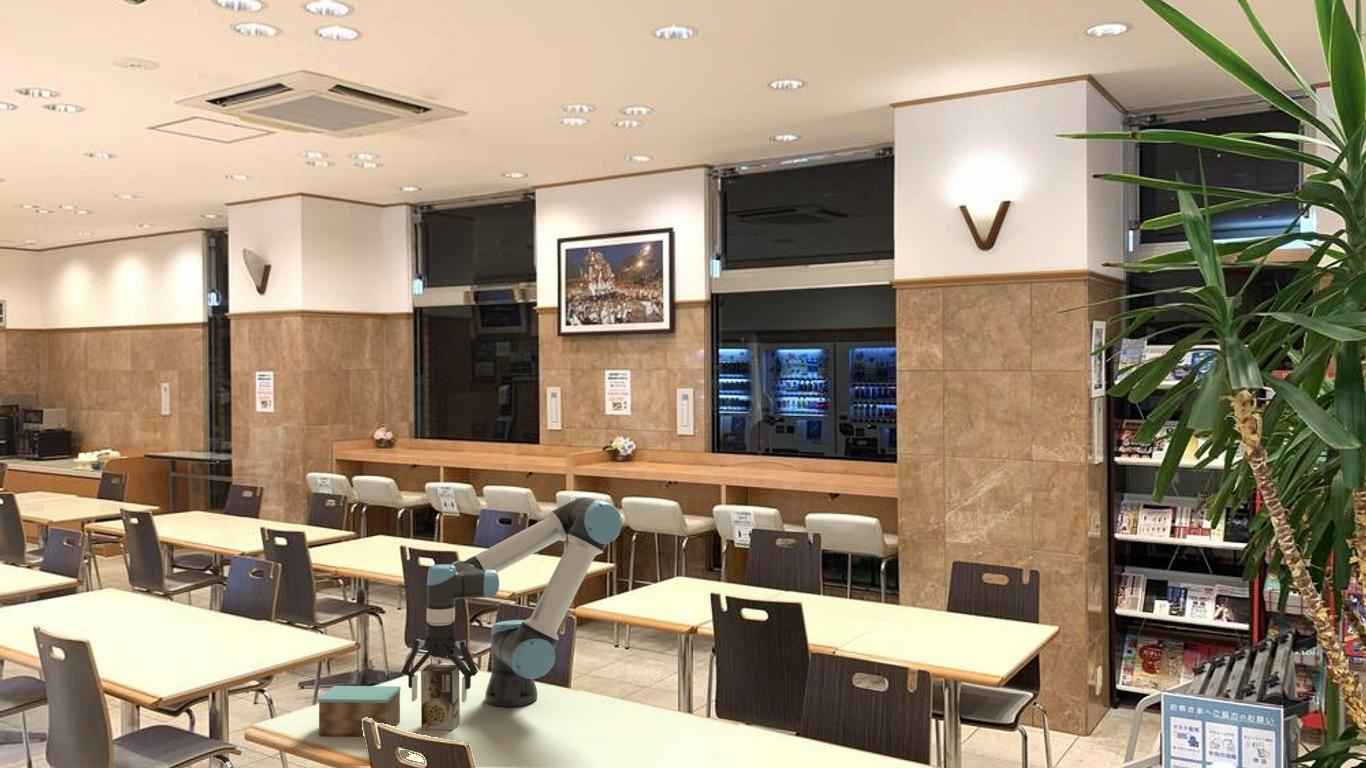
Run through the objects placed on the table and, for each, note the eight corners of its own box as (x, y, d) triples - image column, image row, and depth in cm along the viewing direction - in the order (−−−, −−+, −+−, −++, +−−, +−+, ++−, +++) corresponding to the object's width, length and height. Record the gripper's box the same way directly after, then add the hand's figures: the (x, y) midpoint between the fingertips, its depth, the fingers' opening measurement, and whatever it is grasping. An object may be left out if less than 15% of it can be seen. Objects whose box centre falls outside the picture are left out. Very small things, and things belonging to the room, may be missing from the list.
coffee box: (460, 722, 288) (460, 664, 288) (453, 730, 282) (453, 670, 282) (428, 721, 289) (428, 663, 289) (420, 729, 283) (420, 669, 283)
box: (399, 721, 289) (399, 689, 289) (386, 736, 277) (386, 702, 277) (334, 721, 289) (335, 688, 289) (319, 736, 277) (319, 702, 277)
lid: (400, 689, 289) (400, 686, 289) (387, 702, 276) (387, 699, 276) (334, 688, 289) (334, 685, 289) (317, 702, 277) (317, 699, 277)
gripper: (489, 620, 289) (487, 697, 289) (399, 618, 289) (397, 695, 289) (483, 626, 281) (482, 705, 281) (391, 624, 282) (389, 703, 282)
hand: (439, 700), depth 285 cm, fingers open, 13 cm apart
